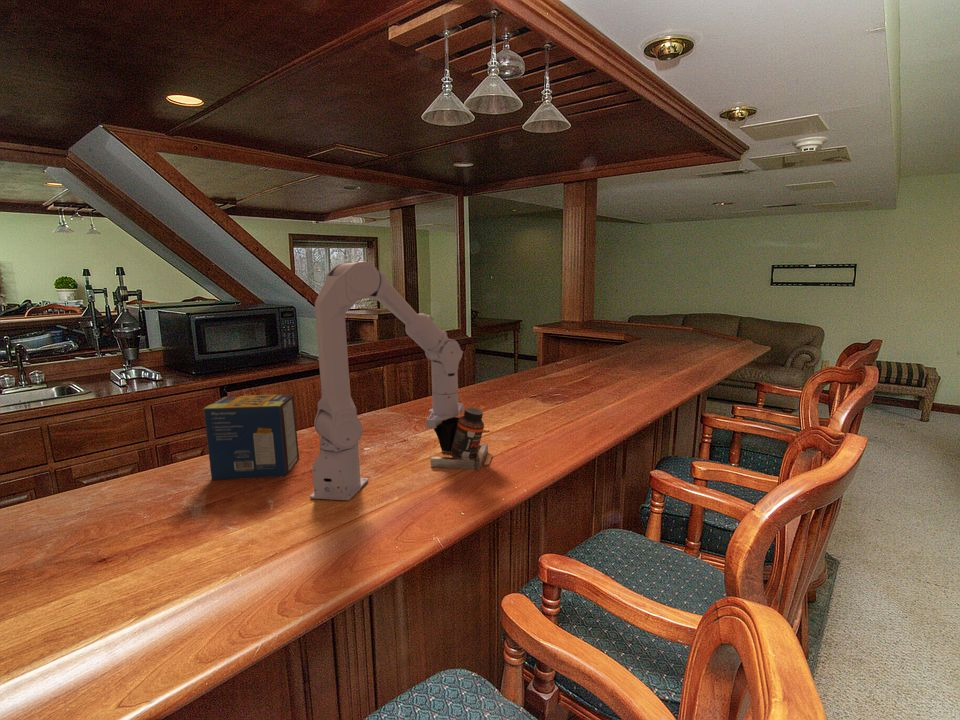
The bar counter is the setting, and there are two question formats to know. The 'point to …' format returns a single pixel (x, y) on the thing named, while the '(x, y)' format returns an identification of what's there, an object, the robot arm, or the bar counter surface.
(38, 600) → the bar counter surface
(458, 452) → the supplement bottle
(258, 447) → the protein box
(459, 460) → the bracket
